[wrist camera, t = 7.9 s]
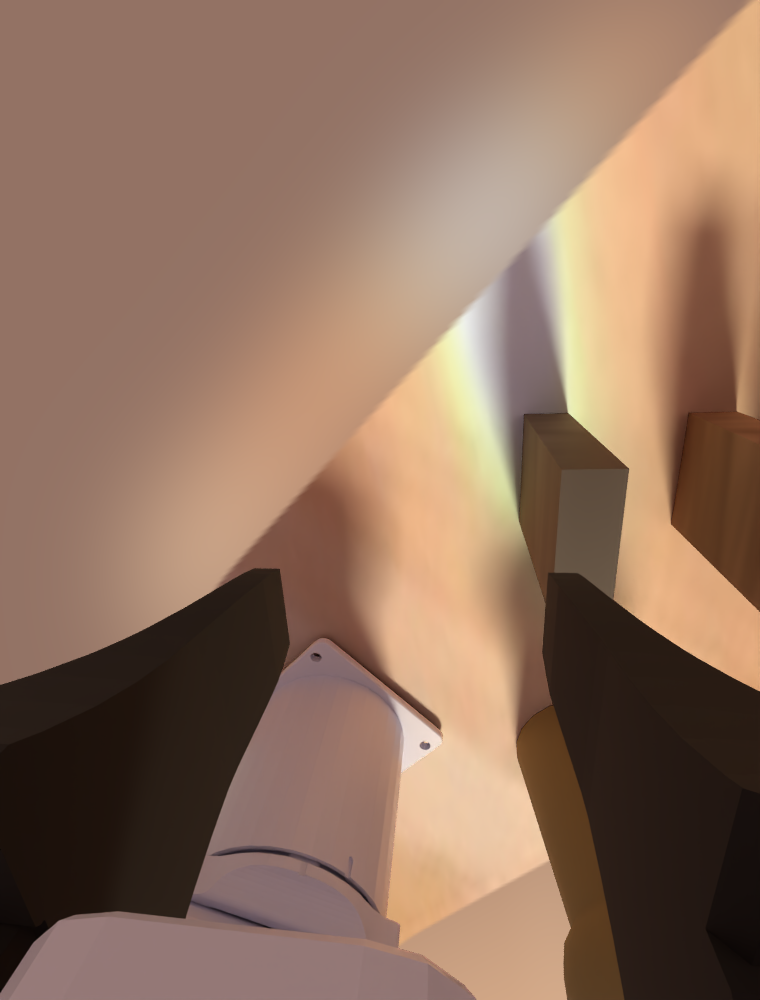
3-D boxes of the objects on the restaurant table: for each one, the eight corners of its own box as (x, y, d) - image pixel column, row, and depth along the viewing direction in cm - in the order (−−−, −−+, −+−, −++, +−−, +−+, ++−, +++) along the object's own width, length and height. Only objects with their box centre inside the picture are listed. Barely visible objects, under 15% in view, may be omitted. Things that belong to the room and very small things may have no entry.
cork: (492, 729, 25) (523, 1025, 15) (610, 680, 23) (740, 979, 13) (554, 811, 26) (621, 1134, 16) (670, 770, 24) (830, 1106, 14)
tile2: (671, 524, 20) (777, 628, 14) (688, 413, 19) (817, 470, 12) (715, 524, 20) (843, 630, 13) (736, 411, 18) (894, 469, 12)
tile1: (519, 521, 21) (550, 619, 14) (523, 414, 19) (561, 469, 13) (559, 521, 21) (610, 620, 14) (567, 413, 19) (628, 468, 13)
